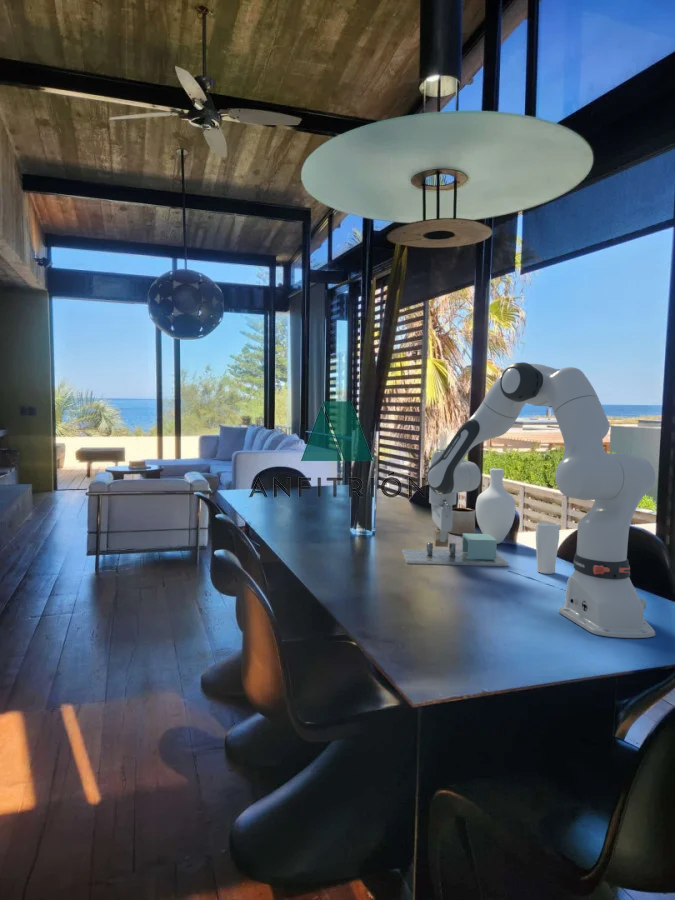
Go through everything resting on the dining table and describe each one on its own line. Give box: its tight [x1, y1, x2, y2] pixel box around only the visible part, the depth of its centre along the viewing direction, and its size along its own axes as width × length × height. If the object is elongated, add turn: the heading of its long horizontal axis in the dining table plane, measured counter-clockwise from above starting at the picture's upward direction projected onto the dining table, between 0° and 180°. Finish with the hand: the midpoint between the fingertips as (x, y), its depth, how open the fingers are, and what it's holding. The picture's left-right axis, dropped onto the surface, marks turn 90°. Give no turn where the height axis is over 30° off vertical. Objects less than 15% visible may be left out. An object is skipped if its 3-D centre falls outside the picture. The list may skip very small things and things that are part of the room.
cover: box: [461, 533, 498, 560], centre depth 194 cm, size 10×9×6 cm
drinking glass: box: [535, 521, 560, 575], centre depth 179 cm, size 7×7×15 cm
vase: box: [475, 467, 516, 545], centre depth 219 cm, size 14×14×28 cm
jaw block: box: [433, 528, 449, 548], centre depth 194 cm, size 4×4×5 cm
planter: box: [448, 507, 476, 536], centre depth 238 cm, size 11×11×10 cm
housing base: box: [401, 542, 509, 567], centre depth 194 cm, size 16×32×5 cm, turn 89°
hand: (441, 539), depth 194 cm, fingers closed on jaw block, 4 cm apart
